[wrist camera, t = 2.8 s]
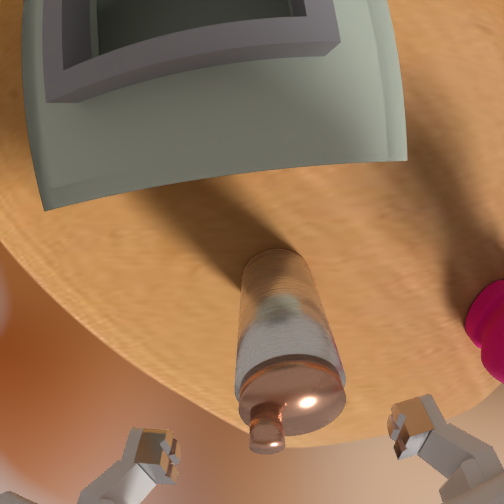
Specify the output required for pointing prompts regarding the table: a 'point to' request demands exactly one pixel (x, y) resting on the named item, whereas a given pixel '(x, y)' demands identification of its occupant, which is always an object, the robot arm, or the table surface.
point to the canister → (284, 353)
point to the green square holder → (204, 90)
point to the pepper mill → (489, 327)
